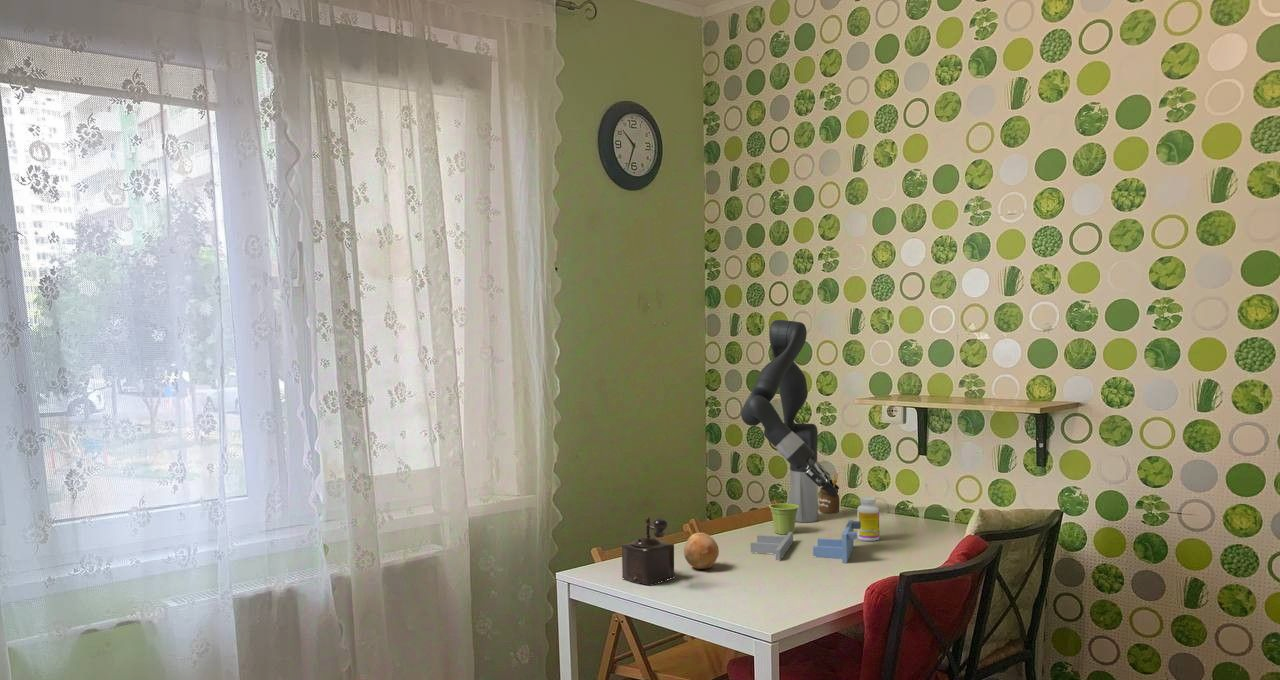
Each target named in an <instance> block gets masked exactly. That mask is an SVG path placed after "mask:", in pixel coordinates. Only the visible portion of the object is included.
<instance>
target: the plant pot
mask: <svg viewBox="0 0 1280 680" xmlns="http://www.w3.org/2000/svg"><path fill="white" fill-rule="evenodd" d="M768 507H769V508H770V512H771V515H772V523H773V528H774V533H776V534H777V533H778V534H777V535H787V534H788V533H789V532H793V534H794V532H795V525H796V521H795V518H796V513H797V508H799V506H798V505H794V504H789V503H772V504H769V506H768Z"/></svg>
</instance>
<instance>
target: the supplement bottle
mask: <svg viewBox="0 0 1280 680" xmlns="http://www.w3.org/2000/svg"><path fill="white" fill-rule="evenodd" d="M859 500H860V501H859V502H860V505H859V506H858V507H857V511H856V513H857V516H856V517H857V518H856V519H857V520H856V521H859V522H861V528H860V529H857V539H859V541H863V542H877V541H878V540H880V508H879V507H878V506H876V501H877V499H876V498H875V497H872V496H862V497H860V499H859ZM876 540H877V541H876Z"/></svg>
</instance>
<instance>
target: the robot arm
mask: <svg viewBox="0 0 1280 680" xmlns="http://www.w3.org/2000/svg"><path fill="white" fill-rule="evenodd" d="M806 327H807V326H806V325H805V324H804V323H803V322H800V321H796V320H795V321H793V320H784V319H775V320H773V321H772V322H771V324H770V327H769V331H768V333H769V334H768V335H769V343H770V348H771V352H772V356H773V359H772V360H771V361H769V362H768V363H767V364H766V365H765V366H764V367H763V368H762V369H761V370H760V372H759V374H758V375H757V379H755V380H756V381H755V382H754V384H753V388H752V390H751V392H750V393H749V396H748V397H747V398H746V401H745V403H744V404H743V406H742V408H741V410H740V412H741V413H740V415H741V419H742V422H744V424H746V425H748V426H752V427H754V426H758V425H760V424H761V425H762V426H763V428H764V430H763V436H764V437H765V439H766V440H767V441H768V442H769V443H770V444H771V445H772V446H773V447H774V448H775V449H776V450H777V451H778V452H779V454H780V455H781V456H782V457H783V458H784V459H785V460H786V462H788V463H789V465H790V467H789V470H790V472H789V476H790V477H789V478H790V480H789V481H790V490H789V492H788V495H789V496H788V498H789V500H788V502H789V503H788V504H794V505H798V506H799V508H797V513H796V518H795V523H796V522H798V523H813V522H817V521H818V520H819V494H818V492H819V491H818V490H819V489H818V488H819V487H820V488H822V487H823V488H824V489H825V490H826V491H827V492H828V493H829V494H830V495H831V496H834V495H835V494H836V493H837V490H836V489H835V488H837V489H838V490H840V486H839V485H838V484H837V483H836V484H835V488H834V487H833V485H834V484H833V483H832V482H833V478H831V474H830V473H829V472H828V471H827V470H826V469H825V468H824V467H823V466H822V465H821V464H820V462H819V461H818V443H819V442H818V441H819V440H818V438H819V436H818V435H819V433H818V427H817V425H816V424H815V423H805V422H804V423H798V422H796V423H795V419H796V417H797V414H798V413H799V411H800V410H801V408H802V407H803V405H804V404H805V402H807V398H808V394H809V393H808V384H807V379H806V376H805V374H804V372H803V370H802V369H801V368H800V367H799V366H798V364H797V363H796V362H795V360H796V358H797V357H798V356H799V354H800V353H801V351H802V349H803V348H804V345H805V343H806V341H807V336H808V333H807V332H808V331H807V328H806ZM778 391H779V397H780V402H781V409H782V415H783V420H782V418H781V417H780V415H779V414H778V412H777V410H776V409H775V406H774V405H773V404H772V403H771V402H772V400H773V399H774V398H775V396H776V393H777V392H778ZM827 476H828V477H827ZM828 478H829V479H830V480H829V479H828ZM837 494H838V493H837Z"/></svg>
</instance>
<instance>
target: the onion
mask: <svg viewBox="0 0 1280 680" xmlns="http://www.w3.org/2000/svg"><path fill="white" fill-rule="evenodd" d="M717 543H718V542H717V541H716V540H715V539H714V538H713V537H712V536H710V535H709V534H707V533H706V532H695V533H693V534H691V535H690V536H689V538H687V540H686V542H685V545H684V547H683V548H684V549H683V556H684V559H685V560H686V563H688V564H689V566H691V567H692V568H695V569H698V570H700V569H709V568H711V567H712V566H714V565H715V563H716V561H717V559H718V557H719V553H720V552H719V551H720V549H719V546H718V544H717Z"/></svg>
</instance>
